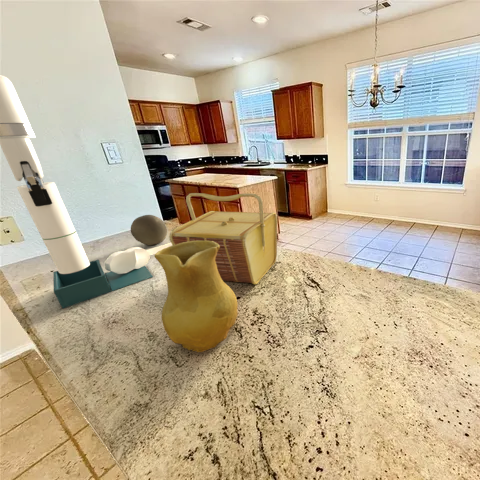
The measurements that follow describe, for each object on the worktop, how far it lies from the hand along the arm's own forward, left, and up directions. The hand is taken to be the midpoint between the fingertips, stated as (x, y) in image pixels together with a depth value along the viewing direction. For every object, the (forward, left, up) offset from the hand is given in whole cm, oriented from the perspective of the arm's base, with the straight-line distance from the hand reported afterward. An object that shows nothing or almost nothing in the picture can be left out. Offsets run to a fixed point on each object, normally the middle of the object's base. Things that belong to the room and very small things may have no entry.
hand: (44, 202), depth 71 cm
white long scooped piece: (+25, +20, -33) cm, 46 cm away
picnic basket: (+42, -16, -34) cm, 56 cm away
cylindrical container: (0, 0, -20) cm, 20 cm away
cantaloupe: (+27, +40, -34) cm, 59 cm away
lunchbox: (+6, +12, -34) cm, 36 cm away
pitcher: (+21, -42, -34) cm, 58 cm away
